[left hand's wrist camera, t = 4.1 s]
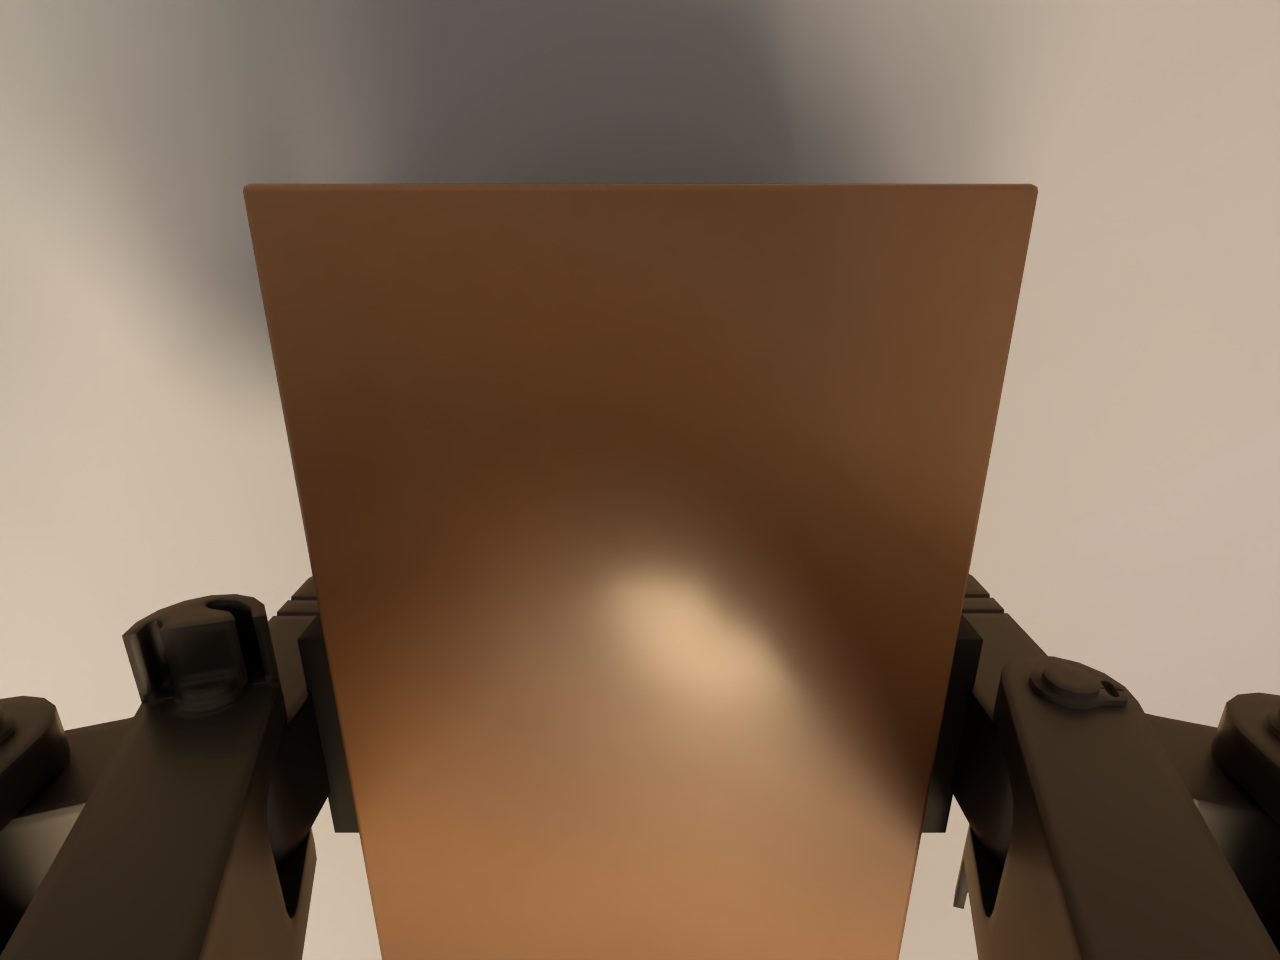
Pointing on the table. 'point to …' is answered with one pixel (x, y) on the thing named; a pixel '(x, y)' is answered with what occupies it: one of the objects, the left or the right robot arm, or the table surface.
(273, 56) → the table surface
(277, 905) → the left robot arm
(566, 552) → the beam
